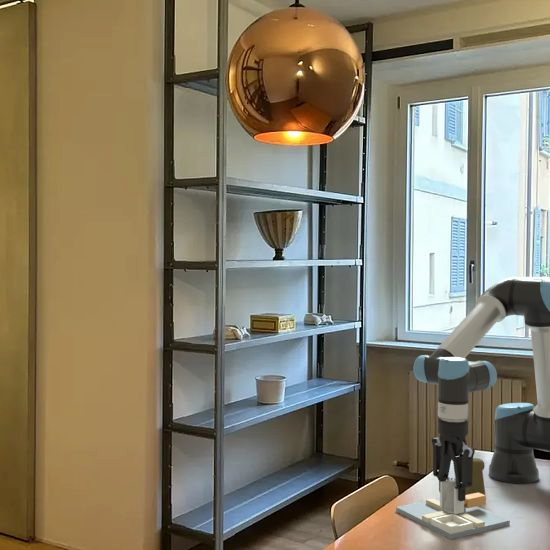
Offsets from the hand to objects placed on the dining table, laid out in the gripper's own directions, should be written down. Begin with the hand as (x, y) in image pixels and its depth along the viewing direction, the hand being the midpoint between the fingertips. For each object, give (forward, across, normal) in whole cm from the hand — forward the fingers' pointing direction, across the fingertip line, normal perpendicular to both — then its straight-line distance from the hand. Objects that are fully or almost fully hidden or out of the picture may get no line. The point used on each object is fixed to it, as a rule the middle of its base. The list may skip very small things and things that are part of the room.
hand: (451, 509), depth 185 cm
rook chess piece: (0, 0, 0) cm, 0 cm away
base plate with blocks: (+6, -7, +6) cm, 11 cm away
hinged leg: (+3, -6, +10) cm, 12 cm away
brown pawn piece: (+6, -17, +24) cm, 30 cm away
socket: (+4, 0, 0) cm, 4 cm away
